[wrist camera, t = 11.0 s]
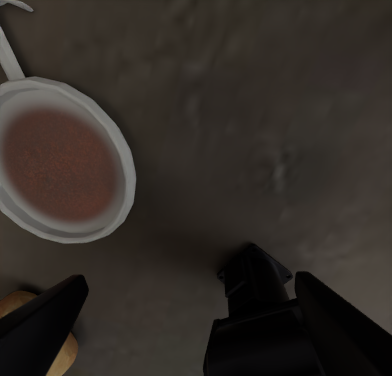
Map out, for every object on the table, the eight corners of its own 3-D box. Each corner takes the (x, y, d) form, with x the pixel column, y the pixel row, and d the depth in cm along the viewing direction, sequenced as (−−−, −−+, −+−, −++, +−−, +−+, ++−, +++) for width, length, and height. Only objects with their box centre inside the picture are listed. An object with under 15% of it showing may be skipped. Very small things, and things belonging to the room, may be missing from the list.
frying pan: (10, -163, 11) (155, 234, 19) (50, -108, 14) (163, 220, 22) (-166, -43, 15) (21, 258, 22) (-105, -17, 17) (43, 244, 25)
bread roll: (50, 276, 27) (-14, 335, 20) (100, 345, 31) (64, 416, 24) (1, 288, 29) (-74, 347, 22) (54, 352, 33) (8, 419, 26)
